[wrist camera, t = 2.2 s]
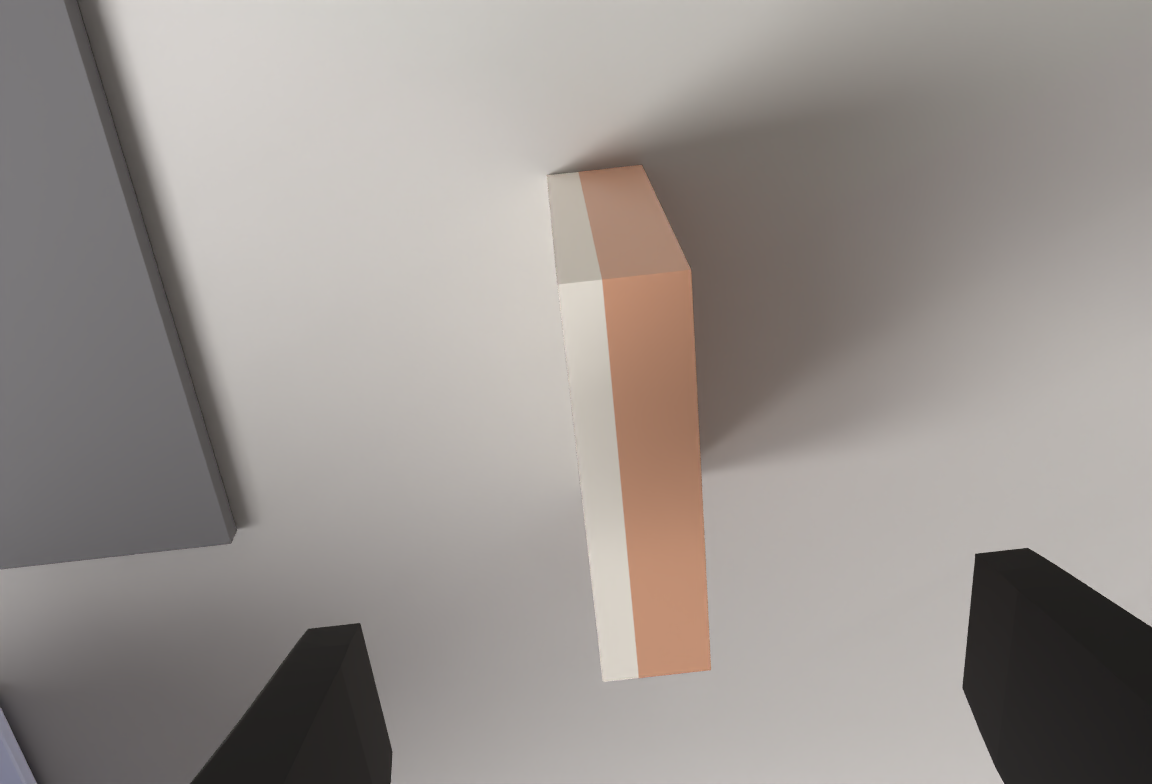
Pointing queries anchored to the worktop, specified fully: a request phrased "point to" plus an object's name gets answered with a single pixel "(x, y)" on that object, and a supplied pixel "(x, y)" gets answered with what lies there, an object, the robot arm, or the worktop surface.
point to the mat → (86, 326)
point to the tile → (633, 419)
